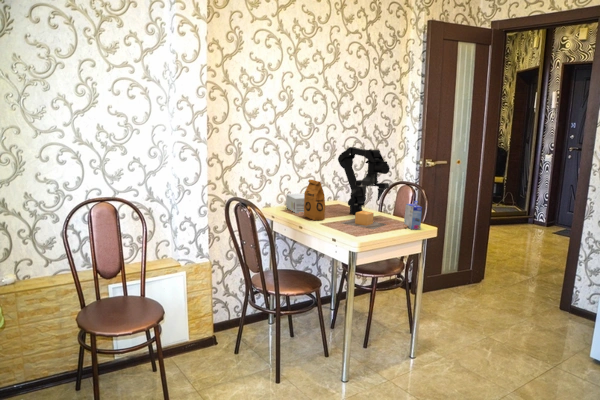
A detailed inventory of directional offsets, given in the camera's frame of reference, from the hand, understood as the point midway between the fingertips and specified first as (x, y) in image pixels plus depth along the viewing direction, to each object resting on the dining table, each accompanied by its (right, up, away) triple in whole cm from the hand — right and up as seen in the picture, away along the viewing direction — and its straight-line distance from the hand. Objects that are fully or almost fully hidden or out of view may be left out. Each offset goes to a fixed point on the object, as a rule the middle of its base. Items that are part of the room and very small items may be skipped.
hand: (371, 199), depth 254 cm
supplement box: (-40, -7, +25) cm, 48 cm away
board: (-6, -14, -13) cm, 20 cm away
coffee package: (-32, -11, +1) cm, 34 cm away
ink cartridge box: (+20, -15, -14) cm, 29 cm away
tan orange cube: (-6, -13, -14) cm, 20 cm away
